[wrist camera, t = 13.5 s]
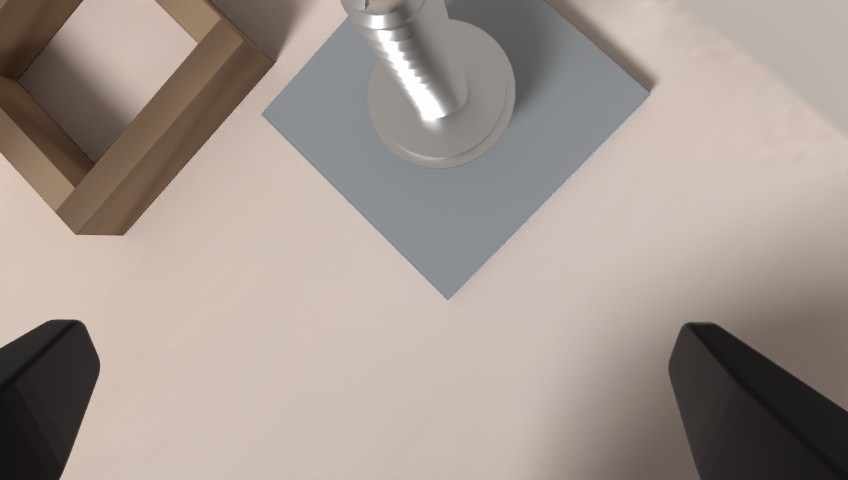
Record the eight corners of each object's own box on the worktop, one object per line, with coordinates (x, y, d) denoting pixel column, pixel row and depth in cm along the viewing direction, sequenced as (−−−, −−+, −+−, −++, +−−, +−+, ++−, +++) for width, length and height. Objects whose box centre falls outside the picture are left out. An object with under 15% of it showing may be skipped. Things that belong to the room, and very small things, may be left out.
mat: (646, 98, 19) (650, 94, 19) (449, 298, 21) (447, 300, 20) (444, -81, 21) (442, -91, 20) (268, 118, 22) (261, 114, 21)
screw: (400, 30, 20) (530, 57, 20) (367, 158, 20) (495, 190, 20) (207, -335, 7) (565, -297, 7) (124, 17, 8) (464, 93, 7)
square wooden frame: (274, 63, 22) (243, 40, 19) (123, 235, 23) (75, 234, 20) (119, -88, 23) (72, -128, 20) (-18, 83, 24) (-80, 64, 21)
